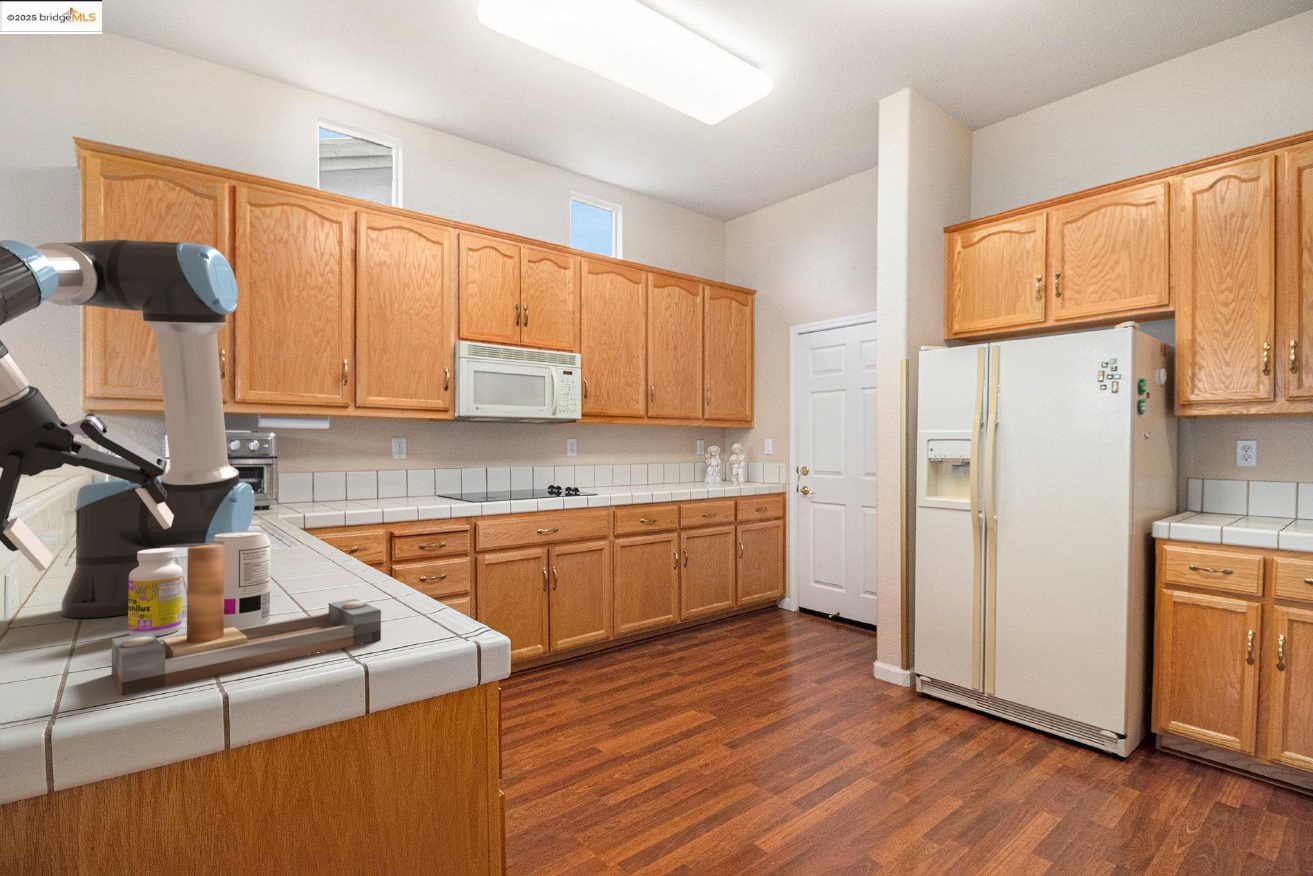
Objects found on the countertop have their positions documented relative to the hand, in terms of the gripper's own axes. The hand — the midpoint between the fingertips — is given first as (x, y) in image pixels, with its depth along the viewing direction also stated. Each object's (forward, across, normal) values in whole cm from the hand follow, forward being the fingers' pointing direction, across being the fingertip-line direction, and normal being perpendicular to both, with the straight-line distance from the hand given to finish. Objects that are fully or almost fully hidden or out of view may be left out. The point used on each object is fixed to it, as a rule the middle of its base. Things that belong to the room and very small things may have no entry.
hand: (109, 542), depth 82 cm
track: (+20, +9, -8) cm, 23 cm away
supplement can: (+26, +3, +8) cm, 28 cm away
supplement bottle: (+23, -8, +10) cm, 27 cm away
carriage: (+15, +5, -9) cm, 18 cm away
